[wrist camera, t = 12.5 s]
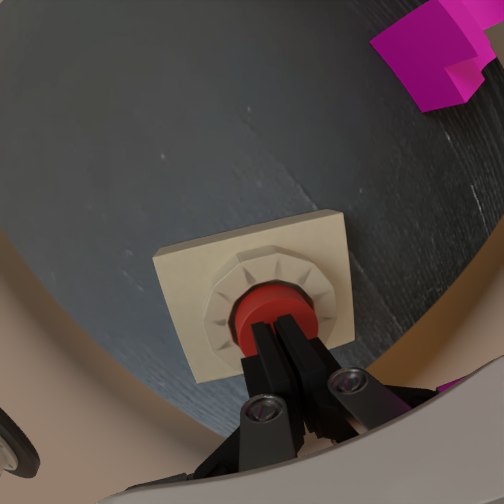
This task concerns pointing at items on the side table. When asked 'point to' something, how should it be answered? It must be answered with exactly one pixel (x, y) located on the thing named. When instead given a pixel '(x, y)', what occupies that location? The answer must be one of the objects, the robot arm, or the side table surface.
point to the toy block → (441, 49)
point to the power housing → (255, 284)
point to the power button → (272, 313)
